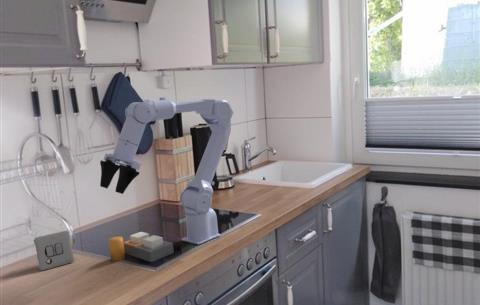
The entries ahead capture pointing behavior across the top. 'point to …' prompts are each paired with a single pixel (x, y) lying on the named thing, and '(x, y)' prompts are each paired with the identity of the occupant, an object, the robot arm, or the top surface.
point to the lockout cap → (116, 249)
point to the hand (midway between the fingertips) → (111, 190)
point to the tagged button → (138, 237)
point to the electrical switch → (54, 250)
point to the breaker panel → (148, 251)
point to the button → (153, 242)
